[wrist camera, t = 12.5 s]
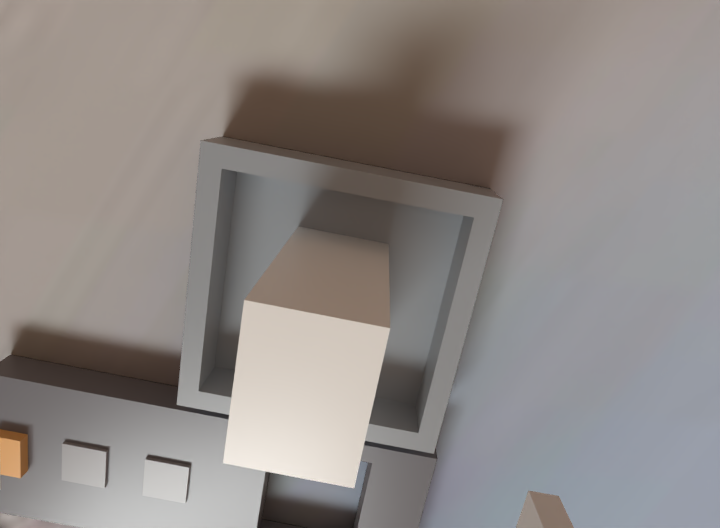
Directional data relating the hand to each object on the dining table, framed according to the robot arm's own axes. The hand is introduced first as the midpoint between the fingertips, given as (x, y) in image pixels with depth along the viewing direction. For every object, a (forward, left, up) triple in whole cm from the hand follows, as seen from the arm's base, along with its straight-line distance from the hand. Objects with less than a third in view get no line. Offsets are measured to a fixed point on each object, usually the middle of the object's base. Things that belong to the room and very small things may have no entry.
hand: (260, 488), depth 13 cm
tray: (0, 0, -14) cm, 14 cm away
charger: (0, 0, -14) cm, 14 cm away
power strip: (-5, -12, -14) cm, 19 cm away
